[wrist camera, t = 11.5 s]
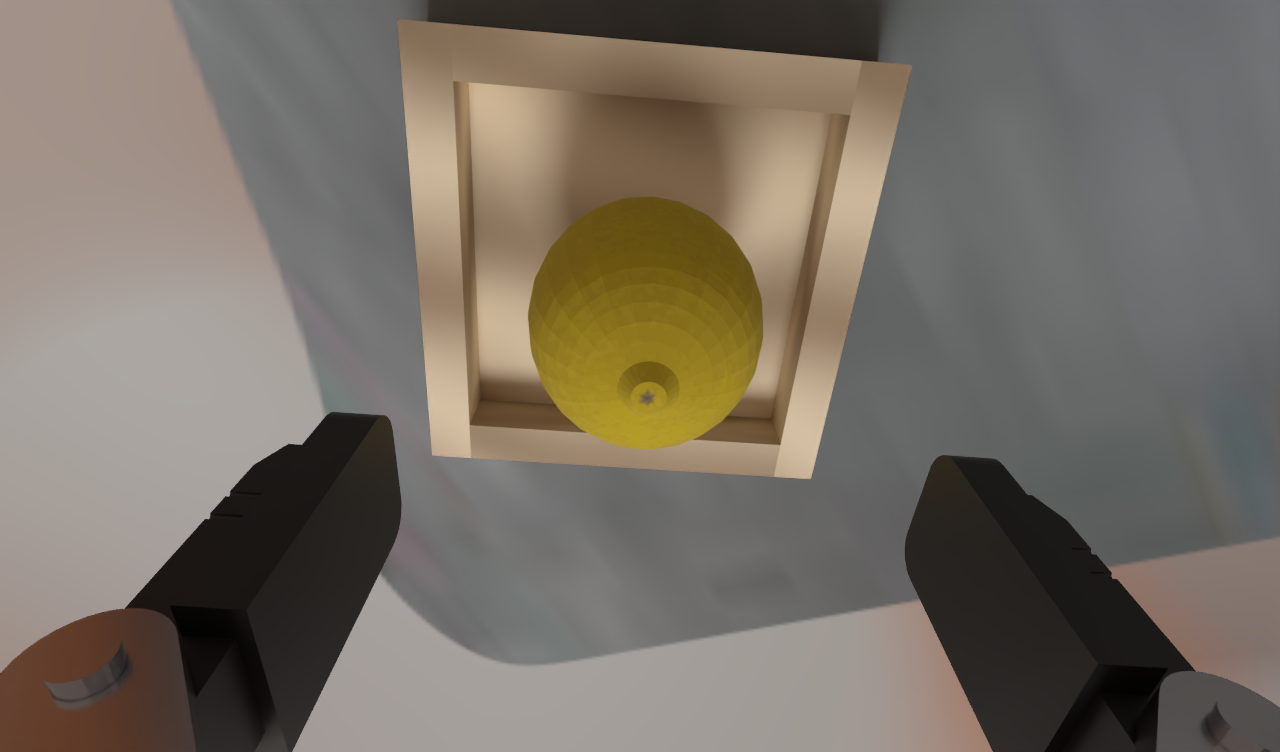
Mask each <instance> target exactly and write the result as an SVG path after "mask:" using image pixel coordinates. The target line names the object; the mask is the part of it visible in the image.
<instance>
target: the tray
mask: <svg viewBox="0 0 1280 752" xmlns="http://www.w3.org/2000/svg"><path fill="white" fill-rule="evenodd" d="M397 21H398V34H399V46H400V58H401V71H402V83H403V96H404V108H405V121H406V133H407V146H408V158H409V171H410V183H411V195H412V208H413V220H414V233H415V245H416V258H417V270H418V283H419V295H420V308H421V320H422V332H423V345H424V357H425V370H426V382H427V395H428V407H429V420H430V432H431V444H432V456H448V457H465V458H481V459H497V460H513V461H529V462H545V463H561V464H577V465H594V466H610V467H626V468H642V469H658V470H674V471H690V472H706V473H723V474H739V475H755V476H771V477H787V478H803V479H811V476H812V472H813V468H814V464H815V460H816V456H817V452H818V448H819V444H820V439H821V435H822V431H823V427H824V423H825V419H826V415H827V411H828V407H829V403H830V399H831V395H832V390H833V386H834V382H835V378H836V374H837V370H838V366H839V362H840V358H841V354H842V350H843V346H844V341H845V337H846V333H847V329H848V325H849V321H850V317H851V313H852V309H853V305H854V301H855V297H856V292H857V288H858V284H859V280H860V276H861V272H862V268H863V264H864V260H865V256H866V252H867V247H868V243H869V239H870V235H871V231H872V227H873V223H874V219H875V215H876V211H877V207H878V203H879V198H880V194H881V190H882V186H883V182H884V178H885V174H886V170H887V166H888V162H889V158H890V154H891V149H892V145H893V141H894V137H895V133H896V129H897V125H898V121H899V117H900V113H901V109H902V105H903V100H904V96H905V92H906V88H907V84H908V80H909V76H910V72H911V68H912V65H905V64H894V63H883V62H872V61H860V60H849V59H838V58H827V57H816V56H804V55H793V54H782V53H771V52H760V51H749V50H737V49H726V48H715V47H704V46H693V45H681V44H670V43H659V42H648V41H637V40H626V39H614V38H603V37H592V36H581V35H570V34H558V33H547V32H536V31H525V30H514V29H503V28H491V27H480V26H469V25H458V24H447V23H435V22H424V21H413V20H402V19H397ZM650 196H653V197H658V198H663V199H669V200H674V201H679V202H682V203H684V204H686V205H688V206H690V207H692V208H694V209H696V210H698V211H700V212H702V213H704V214H706V215H708V216H709V217H710V218H712V219H713V220H714V221H715V222H716V223H717V224H719V225H720V226H721V227H722V228H723V229H724V230H726V231H727V232H728V233H729V234H730V235H731V236H732V237H733V238H734V240H735V241H736V243H737V244H738V246H739V247H740V249H741V250H742V252H743V253H744V255H745V256H746V258H747V259H748V261H749V263H750V264H751V267H752V270H753V273H754V276H755V279H756V282H757V285H758V288H759V292H760V295H761V299H762V313H763V341H762V346H761V350H760V355H759V359H758V363H757V367H756V371H755V374H754V377H753V378H752V380H751V382H750V384H749V386H748V388H747V389H746V391H745V393H744V395H743V397H742V399H741V400H740V402H739V403H738V404H737V405H736V406H735V408H734V409H733V410H732V411H731V412H730V413H729V414H728V415H727V416H726V417H725V418H724V420H723V421H722V422H720V423H719V424H717V425H716V426H714V427H713V428H711V429H710V430H708V431H707V432H705V433H704V434H703V435H701V436H699V437H697V438H695V439H692V440H689V441H687V442H684V443H682V444H679V445H677V446H671V447H665V448H659V449H653V450H652V449H631V448H626V447H622V446H618V445H615V444H611V443H607V442H604V441H602V440H600V439H598V438H597V437H595V436H593V435H591V434H589V433H587V432H585V431H583V430H581V429H580V428H579V427H578V426H576V425H575V424H574V423H573V422H572V421H571V420H570V419H568V418H567V417H566V416H565V415H564V414H563V413H562V412H561V411H560V410H559V408H558V407H557V406H556V404H555V403H554V401H553V400H552V398H551V397H550V396H549V394H548V393H547V391H546V390H545V388H544V386H543V384H542V382H541V379H540V376H539V373H538V371H537V368H536V365H535V363H534V360H533V357H532V353H531V347H530V336H529V324H528V309H529V304H530V299H531V294H532V289H533V284H534V280H535V277H536V275H537V273H538V271H539V269H540V267H541V265H542V263H543V261H544V259H545V257H546V255H547V253H548V251H549V249H550V247H551V246H552V245H553V244H554V243H555V242H556V241H557V239H558V238H559V237H560V236H561V235H562V234H563V233H564V232H565V230H566V229H567V228H568V227H569V226H570V225H571V224H572V223H573V222H575V221H576V220H578V219H579V218H581V217H583V216H584V215H586V214H587V213H589V212H590V211H592V210H593V209H595V208H597V207H599V206H602V205H605V204H608V203H611V202H614V201H617V200H620V199H623V198H635V197H650Z"/></svg>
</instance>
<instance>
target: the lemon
mask: <svg viewBox="0 0 1280 752" xmlns="http://www.w3.org/2000/svg"><path fill="white" fill-rule="evenodd" d="M528 324H529V336H530V347H531V353H532V357H533V360H534V363H535V365H536V368H537V371H538V373H539V376H540V379H541V382H542V384H543V386H544V388H545V390H546V391H547V393H548V394H549V396H550V397H551V398H552V400H553V401H554V403H555V404H556V406H557V407H558V408H559V410H560V411H561V412H562V413H563V414H564V415H565V416H566V417H567V418H568V419H570V420H571V421H572V422H573V423H574V424H575V425H576V426H578V427H579V428H580V429H581V430H583V431H585V432H587V433H589V434H591V435H593V436H595V437H597V438H598V439H600V440H602V441H604V442H607V443H611V444H615V445H618V446H622V447H626V448H631V449H652V450H653V449H659V448H665V447H671V446H677V445H679V444H682V443H684V442H687V441H689V440H692V439H695V438H697V437H699V436H701V435H703V434H704V433H705V432H707V431H708V430H710V429H711V428H713V427H714V426H716V425H717V424H719V423H720V422H722V421H723V420H724V418H725V417H726V416H727V415H728V414H729V413H730V412H731V411H732V410H733V409H734V408H735V406H736V405H737V404H738V403H739V402H740V400H741V399H742V397H743V395H744V393H745V391H746V389H747V388H748V386H749V384H750V382H751V380H752V378H753V377H754V374H755V371H756V367H757V363H758V359H759V355H760V350H761V346H762V341H763V313H762V299H761V295H760V292H759V288H758V285H757V282H756V279H755V276H754V273H753V270H752V267H751V264H750V263H749V261H748V259H747V258H746V256H745V255H744V253H743V252H742V250H741V249H740V247H739V246H738V244H737V243H736V241H735V240H734V238H733V237H732V236H731V235H730V234H729V233H728V232H727V231H726V230H724V229H723V228H722V227H721V226H720V225H719V224H717V223H716V222H715V221H714V220H713V219H712V218H710V217H709V216H708V215H706V214H704V213H702V212H700V211H698V210H696V209H694V208H692V207H690V206H688V205H686V204H684V203H682V202H679V201H674V200H669V199H663V198H658V197H653V196H650V197H635V198H623V199H620V200H617V201H614V202H611V203H608V204H605V205H602V206H599V207H597V208H595V209H593V210H592V211H590V212H589V213H587V214H586V215H584V216H583V217H581V218H579V219H578V220H576V221H575V222H573V223H572V224H571V225H570V226H569V227H568V228H567V229H566V230H565V232H564V233H563V234H562V235H561V236H560V237H559V238H558V239H557V241H556V242H555V243H554V244H553V245H552V246H551V247H550V249H549V251H548V253H547V255H546V257H545V259H544V261H543V263H542V265H541V267H540V269H539V271H538V273H537V275H536V277H535V280H534V284H533V289H532V294H531V299H530V304H529V309H528Z"/></svg>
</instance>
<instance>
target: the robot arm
mask: <svg viewBox="0 0 1280 752" xmlns="http://www.w3.org/2000/svg"><path fill="white" fill-rule="evenodd" d="M400 519H401V494H400V486H399V478H398V470H397V462H396V453H395V445H394V437H393V430H392V425H391V422H390V420H389V418H388V417H387V416H384V415H369V414H355V413H340V412H332V413H329V414H328V415H327V416H326V417H325V418H324V419H323V420H322V421H321V423H320V424H319V425H318V426H317V428H316V429H315V430H314V431H313V433H312V434H311V435H310V436H309V437H308V438H307V440H306V441H305V442H304V443H303V444H302V445H295V444H288V445H286V446H284V447H283V448H281V449H279V450H278V451H276V452H275V453H273V454H271V455H270V456H268V457H266V458H265V459H263V460H261V461H260V462H258V463H256V464H255V465H253V466H252V468H251V469H250V470H249V471H248V472H247V473H246V474H245V475H244V476H243V478H242V479H241V480H240V481H239V482H238V483H237V484H236V485H235V487H234V488H233V489H232V490H231V491H230V496H229V497H226V496H225V498H224V499H223V500H222V501H221V502H220V503H219V504H218V505H217V507H216V508H215V509H214V510H213V511H212V512H211V514H210V519H205V520H204V521H203V522H202V523H201V524H200V525H199V526H198V528H197V529H196V530H195V531H194V532H193V533H192V534H191V535H190V537H189V538H188V539H187V540H186V541H185V542H184V543H183V545H181V547H180V548H179V549H178V550H177V551H176V552H175V553H174V554H173V555H172V557H171V558H170V559H169V560H168V561H167V562H166V563H165V565H163V567H162V568H161V569H160V570H159V571H158V572H157V573H156V574H155V575H154V577H153V578H152V579H151V580H150V581H149V582H148V583H147V585H145V587H144V588H143V589H142V590H141V591H140V592H139V593H138V594H137V595H136V597H135V598H134V599H133V600H132V601H131V602H130V603H129V604H128V606H127V607H126V608H125V609H116V610H111V611H106V612H102V613H98V614H95V615H91V616H88V617H85V618H83V619H80V620H77V621H74V622H72V623H70V624H68V625H65V626H63V627H61V628H59V629H57V630H55V631H53V632H52V633H50V634H49V635H47V636H45V637H43V638H42V639H40V640H38V641H37V642H36V643H34V644H33V645H31V646H30V647H28V648H27V649H26V650H24V651H23V652H22V653H21V654H20V655H18V656H17V657H16V658H15V659H14V660H13V661H12V662H11V663H10V664H9V665H8V666H7V667H6V668H5V669H4V670H3V671H2V672H1V673H0V752H292V751H293V749H294V747H295V745H296V743H297V741H298V739H299V737H300V734H301V732H302V730H303V728H304V726H305V724H306V722H307V720H308V718H309V716H310V714H311V712H312V710H313V708H314V706H315V704H316V702H317V700H318V698H319V696H320V694H321V691H322V690H323V687H324V685H325V683H326V681H327V679H328V677H329V675H330V673H331V671H332V669H333V667H334V665H335V663H336V661H337V659H338V657H339V655H340V653H341V651H342V649H343V647H344V645H345V642H346V640H347V638H348V636H349V634H350V632H351V630H352V628H353V626H354V624H355V622H356V620H357V618H358V616H359V614H360V612H361V610H362V608H363V606H364V604H365V602H366V600H367V598H368V596H369V593H370V591H371V589H372V587H373V585H374V583H375V581H376V579H377V577H378V575H379V573H380V571H381V569H382V567H383V565H384V563H385V561H386V559H387V557H388V555H389V553H390V551H391V549H392V547H393V544H394V542H395V540H396V537H397V533H398V530H399V525H400ZM905 561H906V567H907V571H908V575H909V577H910V580H911V582H912V584H913V586H914V588H915V590H916V592H917V594H918V596H919V598H920V600H921V602H922V605H923V607H924V609H925V611H926V613H927V615H928V617H929V619H930V621H931V623H932V625H933V627H934V630H935V632H936V634H937V636H938V638H939V640H940V642H941V644H942V646H943V648H944V650H945V653H946V655H947V657H948V659H949V661H950V663H951V665H952V667H953V669H954V671H955V673H956V675H957V677H958V680H959V682H960V684H961V686H962V688H963V690H964V692H965V694H966V696H967V698H968V701H969V703H970V705H971V706H972V708H973V711H974V713H975V715H976V717H977V719H978V721H979V723H980V725H981V728H982V730H983V732H984V734H985V736H986V738H987V740H988V742H989V744H990V746H991V749H992V751H993V752H1280V707H1278V706H1277V705H1275V704H1274V703H1273V702H1271V701H1269V700H1268V699H1266V698H1264V697H1263V696H1261V695H1259V694H1258V693H1256V692H1254V691H1252V690H1250V689H1248V688H1246V687H1244V686H1242V685H1240V684H1238V683H1235V682H1233V681H1230V680H1228V679H1225V678H1222V677H1219V676H1216V675H1212V674H1207V673H1203V672H1196V671H1195V670H1194V669H1193V667H1192V666H1191V665H1190V664H1189V663H1188V662H1187V660H1186V659H1185V658H1184V657H1183V656H1182V655H1181V653H1180V652H1179V651H1178V650H1177V649H1176V648H1175V646H1174V645H1173V644H1172V643H1171V642H1170V640H1169V639H1168V638H1167V637H1166V636H1165V635H1164V633H1163V632H1162V631H1161V630H1160V629H1159V628H1158V627H1157V625H1156V624H1155V623H1154V622H1153V621H1152V620H1151V618H1150V617H1149V616H1148V615H1147V614H1146V612H1145V611H1144V610H1143V609H1142V608H1141V607H1140V605H1139V604H1138V603H1137V602H1136V601H1135V600H1134V598H1133V597H1132V596H1131V595H1130V594H1129V593H1128V591H1127V590H1126V589H1125V588H1124V587H1123V586H1122V584H1121V583H1120V582H1119V581H1118V580H1117V579H1112V577H1111V574H1112V573H1111V571H1110V570H1109V569H1108V568H1107V567H1106V566H1105V564H1104V563H1103V562H1102V561H1101V560H1100V559H1099V557H1098V556H1097V555H1094V554H1091V548H1090V547H1089V546H1088V545H1087V543H1086V542H1085V541H1084V540H1083V539H1082V538H1081V536H1080V535H1079V534H1078V533H1077V532H1076V531H1075V529H1074V528H1073V527H1072V526H1071V525H1070V523H1069V522H1068V521H1067V520H1066V519H1064V518H1063V517H1061V516H1060V515H1059V514H1057V513H1056V512H1054V511H1053V510H1052V509H1050V508H1049V507H1048V506H1046V505H1045V504H1043V503H1042V502H1041V501H1039V500H1038V499H1036V498H1035V497H1034V496H1032V495H1027V494H1026V493H1025V491H1024V490H1023V489H1022V488H1021V487H1020V485H1019V484H1018V483H1017V482H1016V480H1015V479H1014V478H1013V477H1012V476H1011V474H1010V473H1009V472H1008V471H1007V469H1006V468H1005V467H1004V466H1003V465H1002V464H1001V463H1000V462H999V461H998V460H996V459H991V458H976V457H962V456H947V455H942V456H939V457H938V458H936V460H935V461H934V462H933V464H932V466H931V468H930V471H929V473H928V476H927V479H926V482H925V485H924V488H923V490H922V493H921V496H920V499H919V502H918V505H917V507H916V510H915V513H914V516H913V519H912V522H911V524H910V527H909V530H908V533H907V537H906V542H905Z"/></svg>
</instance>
